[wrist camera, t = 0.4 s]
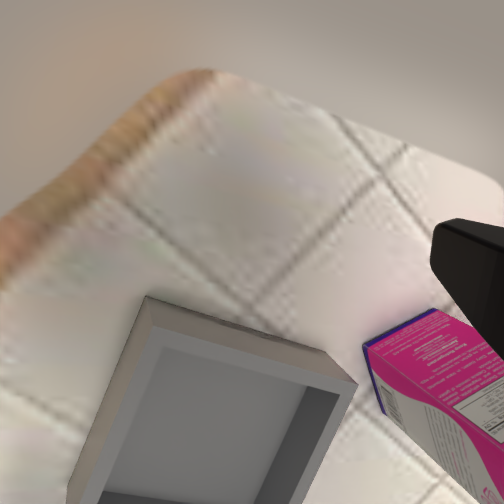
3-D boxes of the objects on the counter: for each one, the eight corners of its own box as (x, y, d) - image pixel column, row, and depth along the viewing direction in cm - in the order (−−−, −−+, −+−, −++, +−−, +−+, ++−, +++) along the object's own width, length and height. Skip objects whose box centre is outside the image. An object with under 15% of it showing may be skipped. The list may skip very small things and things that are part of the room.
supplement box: (453, 374, 32) (624, 492, 22) (381, 413, 31) (524, 559, 21) (437, 303, 30) (616, 395, 20) (359, 343, 29) (505, 463, 19)
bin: (250, 512, 30) (271, 566, 26) (67, 485, 26) (61, 545, 22) (325, 351, 29) (358, 384, 25) (145, 295, 24) (153, 325, 21)
